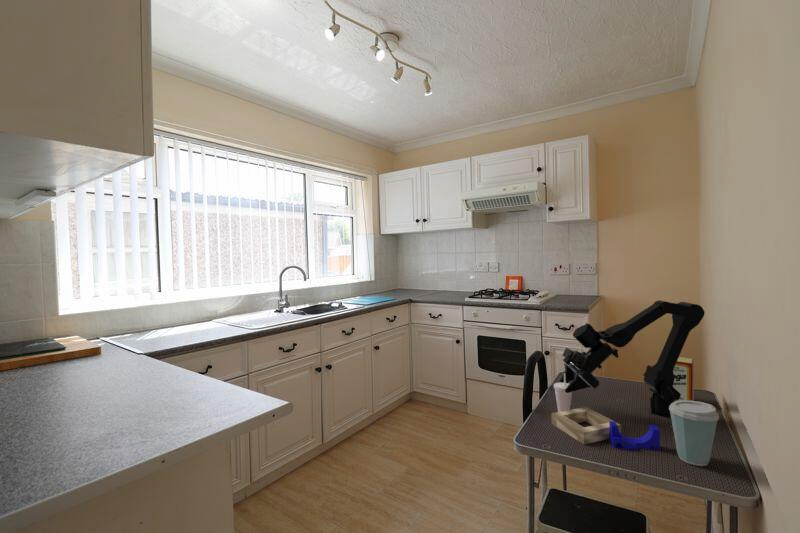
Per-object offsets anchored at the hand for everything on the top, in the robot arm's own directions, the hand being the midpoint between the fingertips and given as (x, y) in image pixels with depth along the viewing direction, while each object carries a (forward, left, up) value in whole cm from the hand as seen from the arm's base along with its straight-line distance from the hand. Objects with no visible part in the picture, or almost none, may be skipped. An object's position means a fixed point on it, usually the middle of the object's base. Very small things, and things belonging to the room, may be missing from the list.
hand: (562, 388), depth 132 cm
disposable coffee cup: (-37, +6, -9) cm, 39 cm away
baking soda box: (-26, -37, -9) cm, 46 cm away
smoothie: (0, 0, -9) cm, 9 cm away
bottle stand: (-10, +8, -9) cm, 16 cm away
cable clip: (-24, +9, -9) cm, 27 cm away
